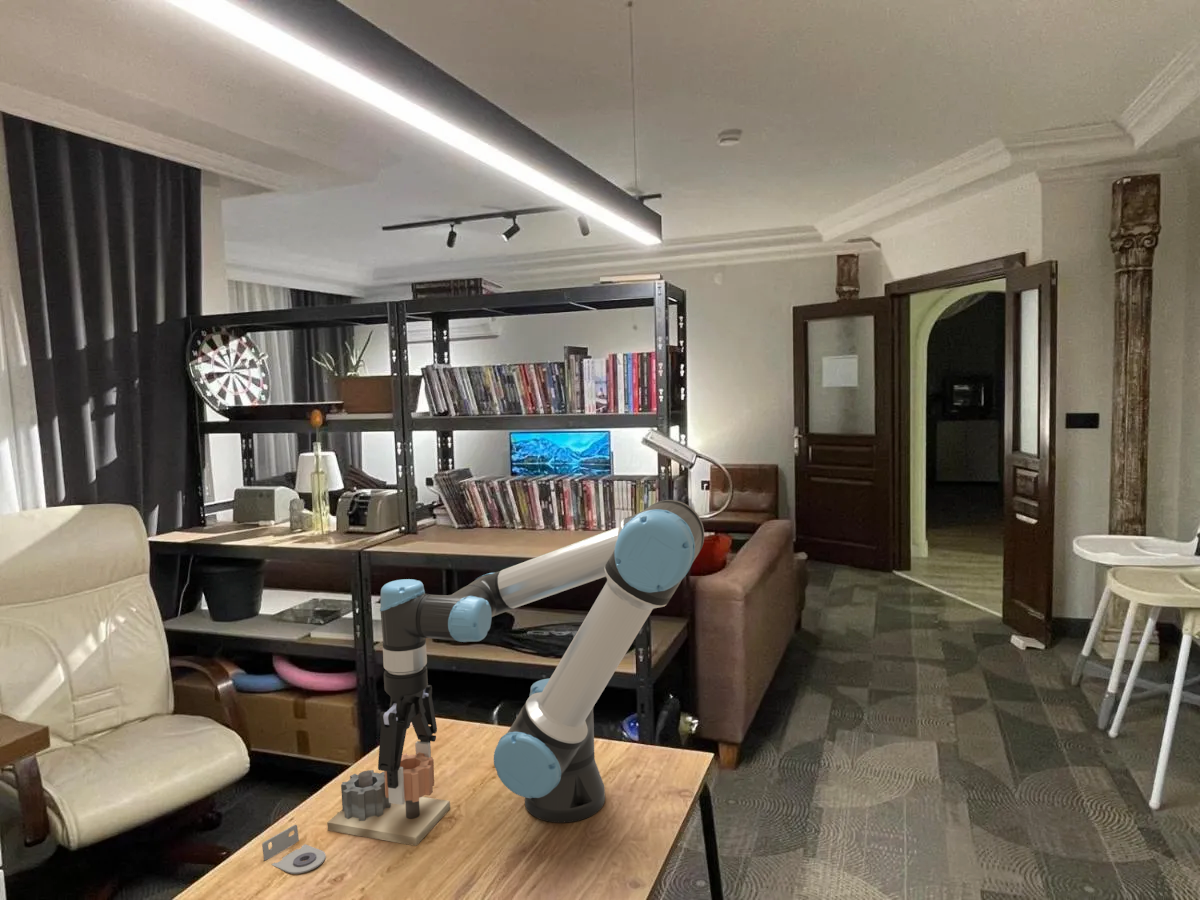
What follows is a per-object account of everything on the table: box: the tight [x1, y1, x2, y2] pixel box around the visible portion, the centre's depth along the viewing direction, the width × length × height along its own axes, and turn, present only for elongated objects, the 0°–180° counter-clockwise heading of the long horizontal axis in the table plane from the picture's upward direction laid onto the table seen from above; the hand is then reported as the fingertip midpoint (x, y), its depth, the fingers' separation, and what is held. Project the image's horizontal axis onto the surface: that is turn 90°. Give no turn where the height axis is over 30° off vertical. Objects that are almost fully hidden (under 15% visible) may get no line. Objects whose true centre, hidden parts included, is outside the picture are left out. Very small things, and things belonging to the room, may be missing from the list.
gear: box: [383, 752, 435, 802], centre depth 139 cm, size 8×8×5 cm
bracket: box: [261, 824, 327, 875], centre depth 129 cm, size 7×10×4 cm, turn 57°
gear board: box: [326, 769, 451, 847], centre depth 140 cm, size 18×12×8 cm, turn 73°
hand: (410, 789), depth 139 cm, fingers closed on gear, 9 cm apart
